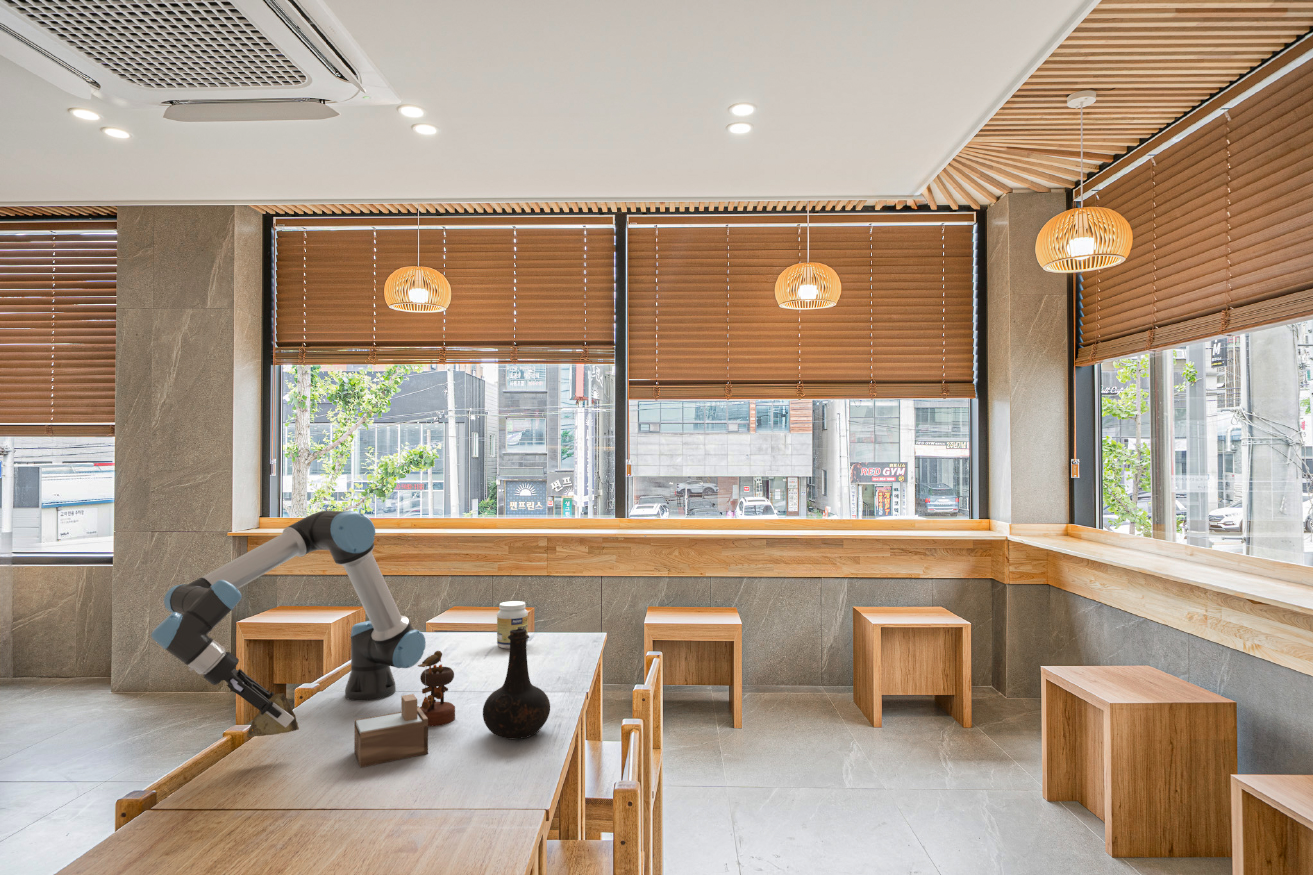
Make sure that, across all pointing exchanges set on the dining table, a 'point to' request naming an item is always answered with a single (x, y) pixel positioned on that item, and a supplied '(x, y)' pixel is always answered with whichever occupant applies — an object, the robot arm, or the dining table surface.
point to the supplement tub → (510, 621)
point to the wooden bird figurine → (436, 691)
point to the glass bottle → (516, 697)
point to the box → (391, 742)
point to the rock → (272, 720)
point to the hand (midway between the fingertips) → (289, 719)
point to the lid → (393, 716)
